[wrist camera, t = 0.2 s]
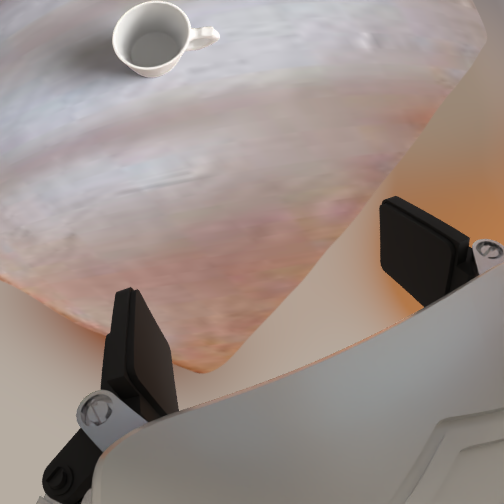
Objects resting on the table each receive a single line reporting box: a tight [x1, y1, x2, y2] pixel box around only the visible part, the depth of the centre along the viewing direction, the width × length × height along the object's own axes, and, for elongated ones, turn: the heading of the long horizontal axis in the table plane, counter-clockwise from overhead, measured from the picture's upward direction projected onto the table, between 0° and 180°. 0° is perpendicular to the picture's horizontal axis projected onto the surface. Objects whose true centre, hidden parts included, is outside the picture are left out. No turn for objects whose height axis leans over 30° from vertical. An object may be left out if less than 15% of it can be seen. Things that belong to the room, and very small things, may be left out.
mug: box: [112, 1, 220, 78], centre depth 26 cm, size 10×7×12 cm, turn 92°
